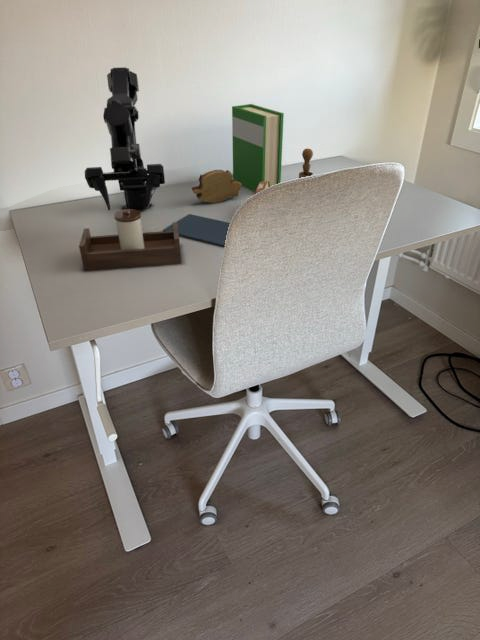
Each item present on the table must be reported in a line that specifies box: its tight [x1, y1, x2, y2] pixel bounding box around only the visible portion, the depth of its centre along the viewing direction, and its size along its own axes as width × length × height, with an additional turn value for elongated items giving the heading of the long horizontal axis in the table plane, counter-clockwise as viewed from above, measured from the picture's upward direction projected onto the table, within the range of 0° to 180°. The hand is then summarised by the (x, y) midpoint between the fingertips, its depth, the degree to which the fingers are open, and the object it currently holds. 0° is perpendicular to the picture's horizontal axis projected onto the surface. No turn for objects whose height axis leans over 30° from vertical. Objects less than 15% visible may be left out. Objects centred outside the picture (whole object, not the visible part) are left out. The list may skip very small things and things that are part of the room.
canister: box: [113, 209, 145, 250], centre depth 112 cm, size 6×6×10 cm
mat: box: [162, 213, 231, 248], centre depth 129 cm, size 20×13×1 cm, turn 61°
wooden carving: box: [191, 169, 243, 204], centre depth 145 cm, size 16×5×10 cm, turn 120°
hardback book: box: [231, 103, 285, 192], centre depth 153 cm, size 18×7×24 cm, turn 33°
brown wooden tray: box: [78, 221, 182, 272], centre depth 115 cm, size 10×23×6 cm, turn 99°
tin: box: [254, 181, 270, 195], centre depth 137 cm, size 15×3×8 cm, turn 168°
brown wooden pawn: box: [298, 148, 314, 179], centre depth 136 cm, size 7×6×18 cm
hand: (128, 208), depth 114 cm, fingers open, 9 cm apart
